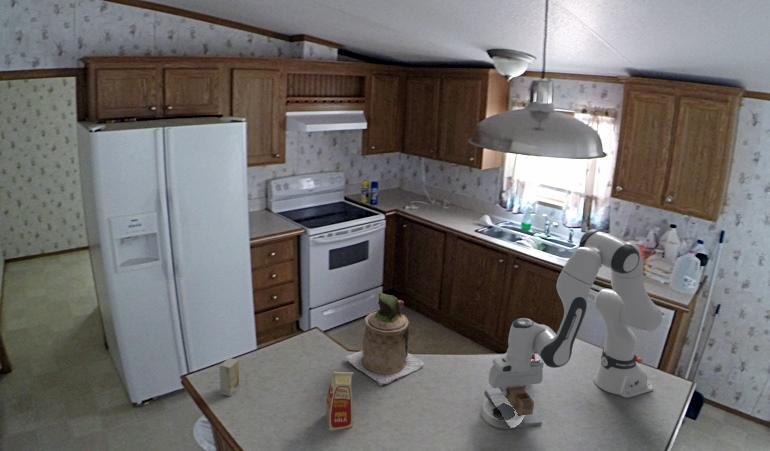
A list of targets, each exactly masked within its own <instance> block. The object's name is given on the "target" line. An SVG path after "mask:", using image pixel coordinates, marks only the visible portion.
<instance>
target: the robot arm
mask: <svg viewBox="0 0 770 451" xmlns="http://www.w3.org/2000/svg"><path fill="white" fill-rule="evenodd" d="M643 261H644V259H643V255H642V250H641V248H640V246H639V245H637V243H635V242H632V241H628V240H627V241H624V240H623V239H621V238H619V237H618V236H615V235H612V234H610V233H607V232H605V231H603V230H601V229H595V228H593V229H592V228H591V229H589V230H587V231H586V232H584V234H583V235H582V236H581V237H580V240H579V245H578V248H577V249H576V250H575V251H574V252H573V253H572V254H571V255H570V257H569V259H568V260H567V261H566V263H565V264H564V266H563V268H562V270H561V272H560V274H559V276H558V278H557V281H556V291H557V294H558V296H559V298H560V299H561V302H562V305H563V306H562V307H563V309H564V310H563V312H564V314H563V318H562V321H561V323H560V326H559V328H558V330H557V332H555V331H554V330H553V329H552V328H551V327H550V326H548V325H546V324H543V323H541V324H539V323H537V322H535V321H534V320H532V319H530V318H527V317H521V318H517V319H516V320H514V321H513V322H512V324H511V326H510V330H509V334H508V339H507V340H508V341H507V342H508V347H507V350H506V352H505V353H503V354H501V355H499V356H496V357H494V358H493V359H492V363H493V365H492V366H491V368H490V369H489V370H490V371H489V374H488V383H489V385H490V386H491V387H492V389H493V388H500V387H502V389H503V395H504V396H509V395H508V394H509V392H508V390H506V389H507V387H510V386H519V385H521V386H522V388H523V389H524V390H525V391H526V390H527V389H528V388H529V385H537V384H541V383H542V381H543V375H544V374H543V372H544V371H543V369H544V364H545V365H546V366H547V367H549V368H553V369H556V368H561V367H564V366H565V365H567V364H568V362H569V361H570V359H571V357H572V353H573V347H574V345H575V344H574V343H575V341H576V338H577V335H578V333H579V331H580V327H581V326H582V323H583V322H584V317H585V315H586V311H587V309H588V308H587V304H588V303H587V301H588V296H589V293H590V291H591V288H592V286H593V284H594V283H595V280H596V278H597V276H598V274H599V270H600V268H602V267H605V268H608V269H610V283H611V288H603V289H601V290H600V291H599V292H598V293H597V294H596V295H595V298H594V306H595V309H596V311H597V312H598V313H599V314H600V316H601V319H602V320H603V324H604V326H605V341H604V347H603V349H602V352H601V357H600V358H601V360H600V364H599V366H598V368H597V371H596V374H595V376H594V378H593V381H594V383H595V384H596V386H597V387H598V388H600V389H601V390H603V391H605V392H608V393H610V394H614V395H618V396H619V397H620V396H621V397H622V398H626V399H628V398H632V397H635V396H640V395H641V394H646V393H649V392H652V391H653V390H654V389H653V388H654V387H653V385H652V383H651V382H650V381H649V379H648V374H647V371H645V370H644V369H643V367H642V366H641V365H639V364H642V363H643V358H641V357H640V356H636V354H635V352H636V348H637V343H638V341H637V337H636V335H635V333H634V332H633V331H632V330H631V327H632V328H634V329H635V330H639V331H644V332H647V333H653V332H655V331H656V330H658V328H660V326H661V325H662V323H663V320H664V319H663V318H664V317H663V312H662V310H661V308H659V307H658V306H657V304H656V303H654V302H653V300H652V299H651V298H650V296H649V294H648V292H647V290H646V288H645V281H644V262H643ZM533 353H534V354H535V353H537V355H538V356H539V357H540V358H541V359H538V358H536V359H535V360H531V358H532V354H533Z"/></svg>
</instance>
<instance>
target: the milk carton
mask: <svg viewBox="0 0 770 451" xmlns="http://www.w3.org/2000/svg"><path fill="white" fill-rule="evenodd" d="M354 373H355V372H354V371H349V372H346V371H345V372H341V371H333V375H332V378H331V381H330V385H329V387H328V390H327V397H326V400H325V401H326V402H325V410H326V411H325V414H326V415H325V416H326V420H327V425H328V429H329V431H331V432H332V431H337V430H342V429H343V430H344V429H348V428H349V429H350V428H353V426H354V425H353V424H354V423H353V422H354V406H353V403H354V401H353V399H354V398H353V391H352V377H353V374H354Z"/></svg>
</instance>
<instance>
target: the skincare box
mask: <svg viewBox="0 0 770 451" xmlns="http://www.w3.org/2000/svg"><path fill="white" fill-rule="evenodd" d="M239 366H240V365H239V359H235V358H231V357H228V358H227V359H225V361H223V362H222V363H221V364H220V365H219V382H220V383H219V384H220V385H219V386H220V395H223V396H226V397H232V396H233V395H234V394H235V393H236V392H237V391H238V390H239V389H240V368H239Z"/></svg>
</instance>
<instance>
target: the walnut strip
mask: <svg viewBox="0 0 770 451" xmlns="http://www.w3.org/2000/svg"><path fill="white" fill-rule="evenodd" d="M522 386H523V385H519V386H510V387H507V389H506V390H508V392H509V394H508V395H509V396H505V397H506V398H507V399H508V401H509V402H510V404H511V405H512V406H513V408H514V409H515V410H516V412H517V413H518V414H519V416H521V415H530V414H533V412H534V407H535V401H534V400H533V399H532V397H531V396H530V395H529V394H528V392H526V390H524V389H523V388H522ZM499 389H500V390H501V391H502V393H503V389H502V387H500V388H499Z"/></svg>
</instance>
